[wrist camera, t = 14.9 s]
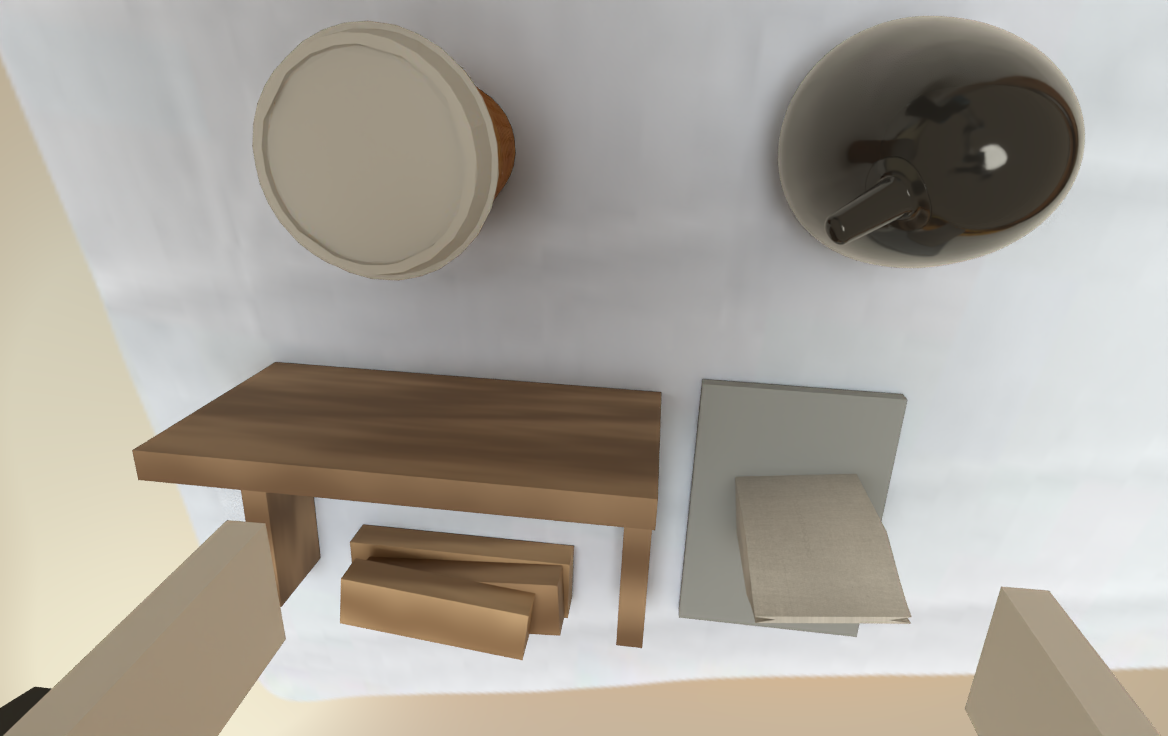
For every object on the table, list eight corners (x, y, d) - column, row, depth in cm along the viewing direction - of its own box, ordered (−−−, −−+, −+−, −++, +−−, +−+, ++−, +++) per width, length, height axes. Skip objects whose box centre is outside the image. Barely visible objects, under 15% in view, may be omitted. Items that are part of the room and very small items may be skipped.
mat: (702, 379, 39) (703, 384, 39) (902, 394, 38) (907, 399, 37) (678, 609, 45) (678, 617, 44) (853, 628, 44) (856, 636, 43)
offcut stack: (362, 519, 45) (319, 576, 40) (574, 541, 44) (559, 602, 38) (367, 581, 47) (327, 644, 41) (571, 604, 46) (557, 671, 40)
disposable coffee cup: (524, 257, 38) (463, 315, 27) (359, 211, 38) (231, 249, 27) (565, 76, 35) (515, 56, 24) (384, 27, 35) (249, -17, 24)
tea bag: (735, 476, 40) (754, 584, 31) (856, 473, 39) (914, 584, 30) (736, 531, 41) (755, 651, 32) (853, 529, 41) (908, 652, 31)
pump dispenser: (731, 96, 34) (775, 80, 20) (945, -14, 32) (1170, -121, 17) (805, 280, 37) (890, 382, 23) (1009, 193, 34) (1249, 246, 20)
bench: (275, 362, 42) (132, 450, 31) (661, 392, 40) (657, 499, 29) (299, 555, 47) (182, 692, 36) (645, 592, 45) (636, 751, 33)
